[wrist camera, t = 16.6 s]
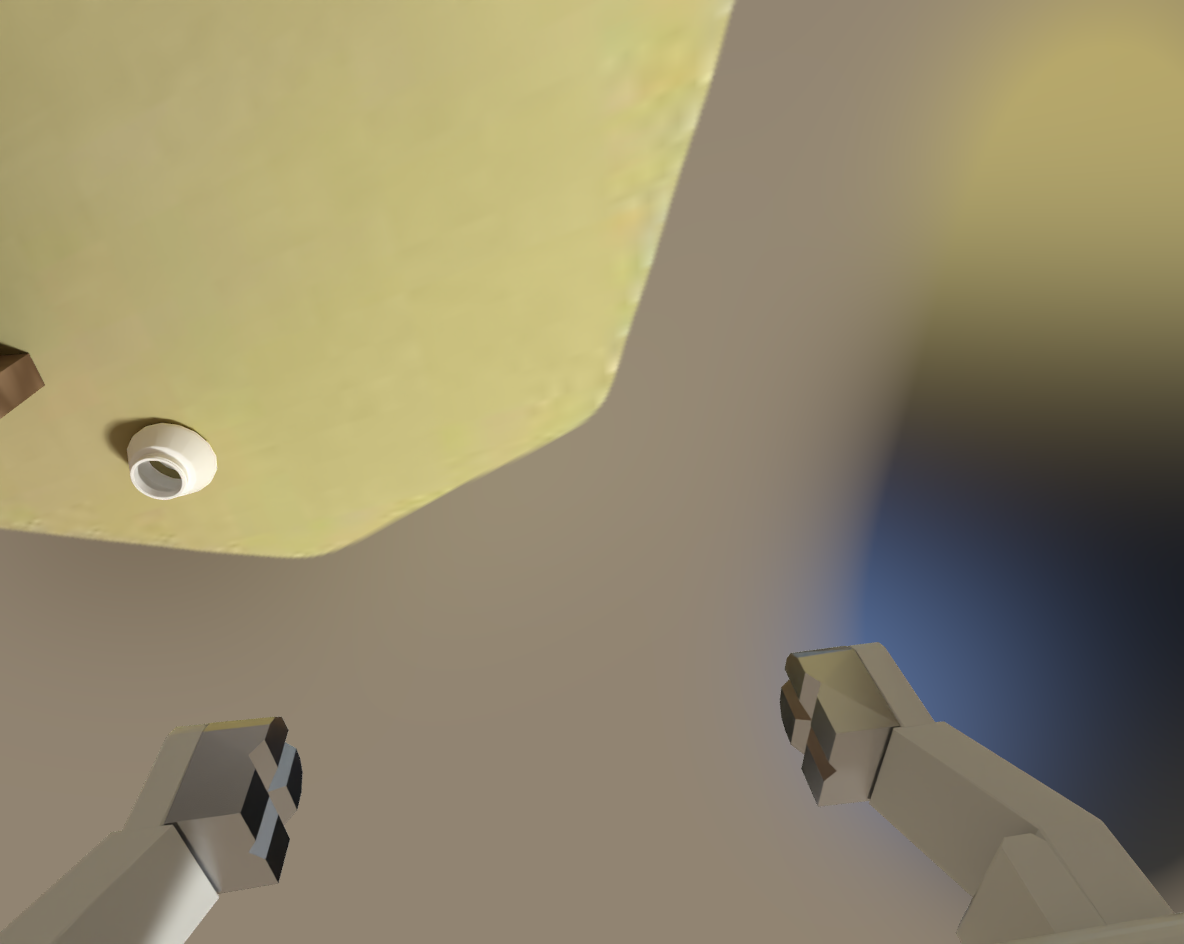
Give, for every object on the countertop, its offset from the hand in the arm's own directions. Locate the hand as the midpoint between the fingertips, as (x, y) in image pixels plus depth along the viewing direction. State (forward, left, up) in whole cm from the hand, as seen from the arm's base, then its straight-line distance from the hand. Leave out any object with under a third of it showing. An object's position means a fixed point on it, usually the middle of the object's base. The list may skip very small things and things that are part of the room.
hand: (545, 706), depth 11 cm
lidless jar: (+13, -22, -34) cm, 42 cm away
